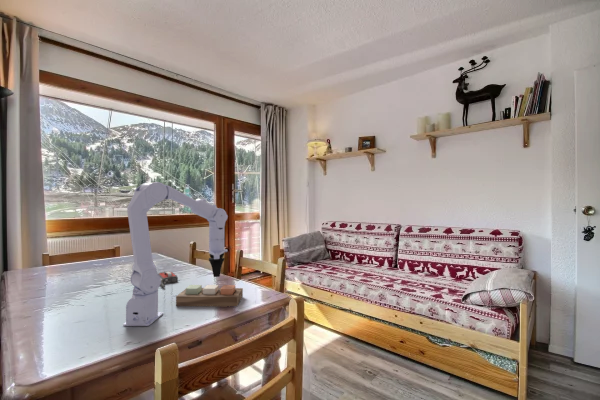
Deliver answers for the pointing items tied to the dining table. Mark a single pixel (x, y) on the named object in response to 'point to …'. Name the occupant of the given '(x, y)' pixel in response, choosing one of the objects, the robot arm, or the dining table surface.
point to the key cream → (210, 289)
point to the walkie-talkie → (167, 278)
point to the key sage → (193, 289)
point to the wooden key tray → (209, 299)
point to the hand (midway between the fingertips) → (216, 274)
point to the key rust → (228, 290)
